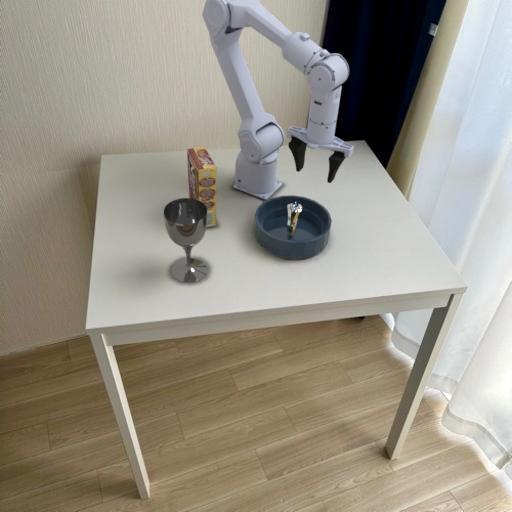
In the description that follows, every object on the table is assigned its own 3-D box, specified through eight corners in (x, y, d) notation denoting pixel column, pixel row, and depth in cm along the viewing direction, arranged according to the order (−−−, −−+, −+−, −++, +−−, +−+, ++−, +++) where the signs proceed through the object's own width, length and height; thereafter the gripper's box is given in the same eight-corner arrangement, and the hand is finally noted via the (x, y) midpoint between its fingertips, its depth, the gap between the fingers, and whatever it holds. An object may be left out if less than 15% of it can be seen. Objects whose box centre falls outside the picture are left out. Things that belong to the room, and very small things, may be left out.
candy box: (218, 226, 116) (217, 167, 105) (199, 229, 114) (196, 170, 104) (207, 203, 122) (205, 145, 111) (189, 206, 121) (185, 148, 110)
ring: (294, 245, 111) (297, 215, 105) (279, 241, 111) (282, 211, 106) (303, 226, 116) (307, 197, 110) (289, 223, 116) (292, 193, 111)
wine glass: (170, 257, 107) (164, 198, 97) (209, 256, 108) (207, 197, 98) (168, 285, 102) (162, 224, 91) (209, 283, 102) (207, 224, 92)
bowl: (240, 242, 112) (240, 224, 108) (277, 204, 122) (278, 187, 119) (307, 271, 106) (310, 252, 102) (340, 229, 116) (343, 211, 113)
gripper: (281, 115, 105) (277, 172, 114) (347, 136, 100) (337, 194, 109) (298, 102, 110) (292, 158, 119) (361, 122, 104) (351, 179, 114)
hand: (315, 175), depth 114 cm, fingers open, 7 cm apart
